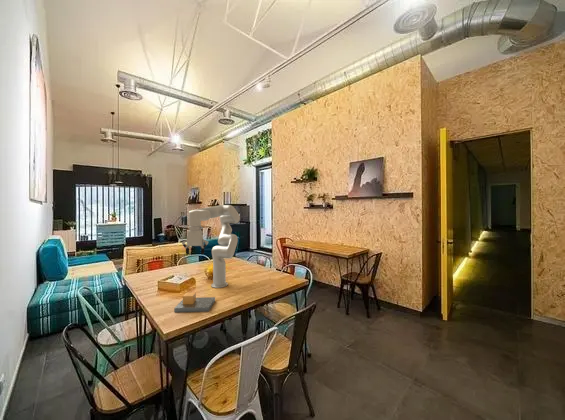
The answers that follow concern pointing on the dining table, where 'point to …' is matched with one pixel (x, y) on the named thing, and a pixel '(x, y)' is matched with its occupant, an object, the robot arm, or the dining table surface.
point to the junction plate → (196, 305)
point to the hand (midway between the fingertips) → (195, 254)
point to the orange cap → (189, 298)
